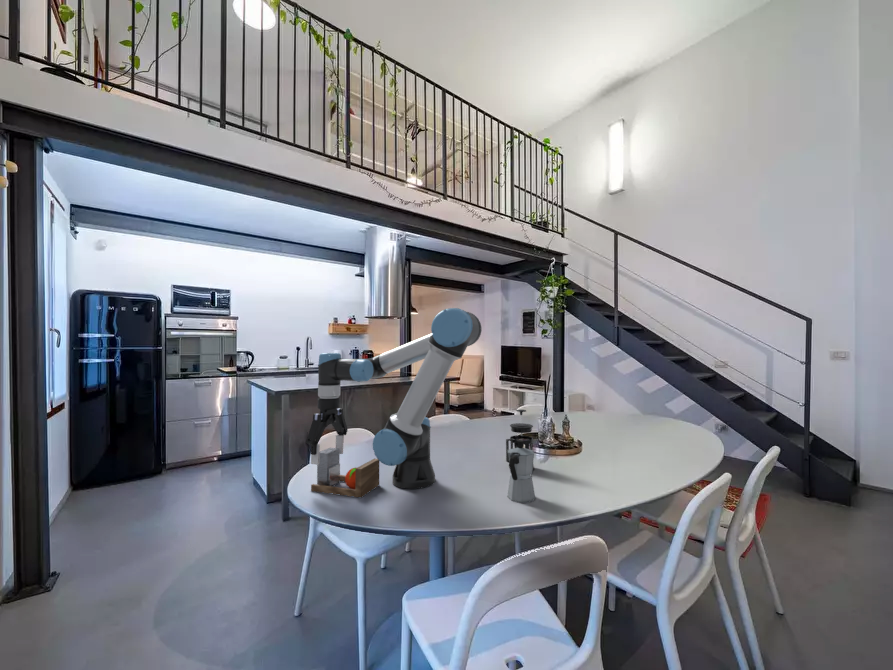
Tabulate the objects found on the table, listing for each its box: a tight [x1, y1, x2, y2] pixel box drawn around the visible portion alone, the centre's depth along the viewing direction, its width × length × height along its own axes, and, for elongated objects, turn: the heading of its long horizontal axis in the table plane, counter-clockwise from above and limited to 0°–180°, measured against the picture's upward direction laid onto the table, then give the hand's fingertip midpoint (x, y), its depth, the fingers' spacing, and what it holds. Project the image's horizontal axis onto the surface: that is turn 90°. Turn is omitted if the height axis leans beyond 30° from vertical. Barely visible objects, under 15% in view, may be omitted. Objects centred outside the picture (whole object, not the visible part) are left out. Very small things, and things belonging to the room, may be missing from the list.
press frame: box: [310, 458, 380, 498], centre depth 130 cm, size 19×12×9 cm, turn 71°
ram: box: [316, 447, 341, 487], centre depth 132 cm, size 5×7×12 cm, turn 161°
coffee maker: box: [506, 439, 536, 504], centre depth 120 cm, size 15×9×18 cm, turn 149°
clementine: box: [344, 467, 357, 489], centre depth 129 cm, size 8×7×7 cm
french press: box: [505, 409, 535, 472], centre depth 151 cm, size 12×9×23 cm
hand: (327, 458), depth 133 cm, fingers open, 13 cm apart
